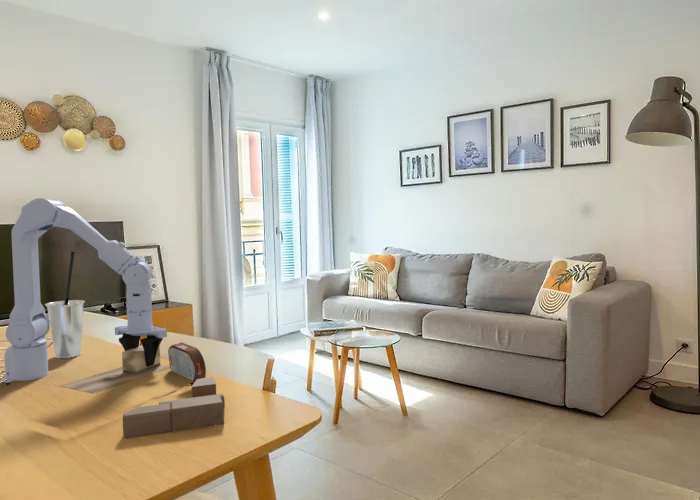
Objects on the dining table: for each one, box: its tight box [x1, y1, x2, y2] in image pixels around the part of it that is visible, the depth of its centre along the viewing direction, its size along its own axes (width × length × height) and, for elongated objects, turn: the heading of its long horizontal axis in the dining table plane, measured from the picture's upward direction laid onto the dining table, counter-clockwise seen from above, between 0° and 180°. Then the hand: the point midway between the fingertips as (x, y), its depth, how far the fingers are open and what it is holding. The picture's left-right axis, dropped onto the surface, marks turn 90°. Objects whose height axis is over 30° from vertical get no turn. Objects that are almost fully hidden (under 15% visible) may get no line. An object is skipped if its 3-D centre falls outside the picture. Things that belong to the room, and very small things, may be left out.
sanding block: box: [121, 345, 161, 374], centre depth 130 cm, size 4×8×5 cm, turn 160°
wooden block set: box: [122, 376, 226, 439], centre depth 101 cm, size 17×6×18 cm
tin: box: [167, 341, 207, 386], centre depth 124 cm, size 15×3×8 cm, turn 42°
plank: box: [59, 364, 170, 394], centre depth 125 cm, size 12×22×1 cm, turn 152°
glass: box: [44, 251, 86, 359], centre depth 149 cm, size 11×11×30 cm
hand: (142, 364), depth 130 cm, fingers closed on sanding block, 4 cm apart
